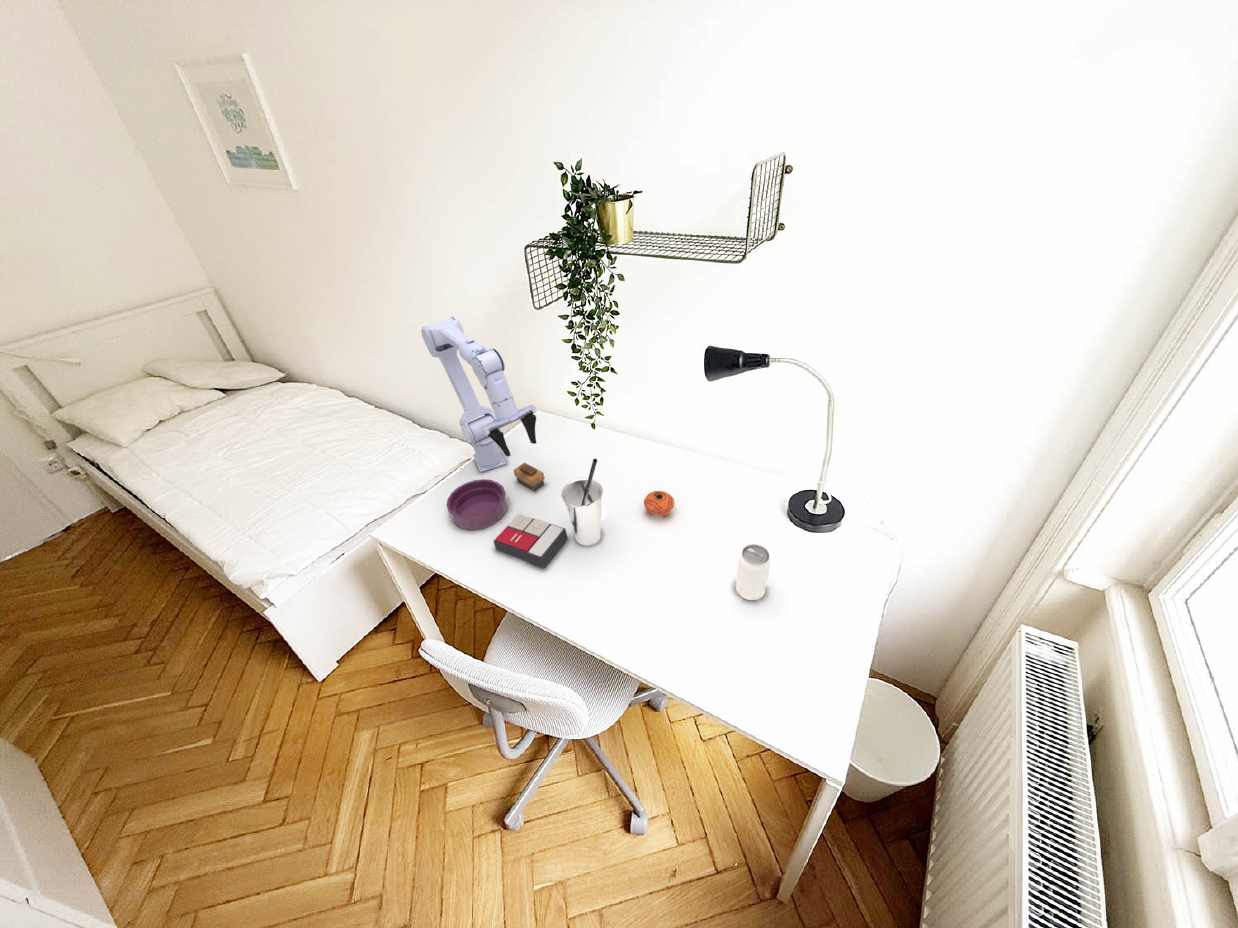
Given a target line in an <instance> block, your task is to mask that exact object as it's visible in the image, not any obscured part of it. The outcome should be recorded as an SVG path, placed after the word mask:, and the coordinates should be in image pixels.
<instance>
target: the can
mask: <svg viewBox="0 0 1238 928" xmlns="http://www.w3.org/2000/svg"><path fill="white" fill-rule="evenodd" d="M737 565H738V566H737V573H736V580H735V581H736V582H735V590H736V592H737V594H738V595H739V596H740V597H741V598H742V599H745V600H747V601H758V600H760V599H761V598H762V597H764V595H765V592H766V588H767V584H768V577H769V572H770V567H771V558H770V553H769V551H768V549H767V548H765V546H762V545H760V544H756V543H755V544H748V545H746V546H744V547H743V549H742V551H741V552H740V554H739V558H738V564H737Z"/></svg>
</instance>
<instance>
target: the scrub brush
mask: <svg viewBox="0 0 1238 928" xmlns="http://www.w3.org/2000/svg"><path fill="white" fill-rule="evenodd" d="M513 475H514V477H515V478H516V481H517V483H519V484H520V485H522V486H524V487H526V488H527V489H529V490H531V491H532V492H534V493H535V492H537V491H538V490H540V489H541V488H542V487H543V486H545V481H544V480H545V478H546V477H545V473H544V471H541V470H539V469H538V468H535V467H534V466H533V465H531V464H529V463H527V462H525V461H524V462H523V463H521V464H520V465H518V466H516V468H514V469H513Z"/></svg>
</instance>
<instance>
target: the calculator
mask: <svg viewBox="0 0 1238 928" xmlns="http://www.w3.org/2000/svg"><path fill="white" fill-rule="evenodd" d="M568 540H569V539H568V533H567V529H566V528H565V527H561V526H558V525H556V524H552V523H549V522H547V521H543V520H539V519H537V518H534V517H530V516H527V515H525V514H522V513H521V514H520V513H518V514H517V515H516V516H515V517H514V518H513V519H512V520H511V521H510V522H509V524H508V525H507V526H506V527H504V529H503V530H502V531H501V532H500V533H499V534H498V535H497V537H495V539H493V545H494V547H495V550H496V551H499V552H502V553H504V554H507V555H509V556H513V557H515V558H518V559H521V560H523V561H526V562H528V563H530V564H531V565H533V566H536V567H538V568H541V569H545V568H546V567H547V566H548V565H549V563H550V562H551V561H552V560H553V558H554V557H555V556H556V555H557V553H558V552H559V551H560V549H561V548H562V547H563V546H564V545H565V543H567V541H568Z"/></svg>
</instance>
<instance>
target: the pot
mask: <svg viewBox="0 0 1238 928" xmlns="http://www.w3.org/2000/svg"><path fill="white" fill-rule="evenodd" d="M643 505H644V507H645V510H646V513H647V514H648V515H649V514H650V513H651V514H654V515H660V516H661V515H665V517H668V516H669V515H670V512H671V511H672V510H673V508H674V506H675V499H674V497H673V496H672V495H671V493H669V492H667V491H663V490H654V491H651V492H649V493H647V495H646V496H645V498H644V500H643Z"/></svg>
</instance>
